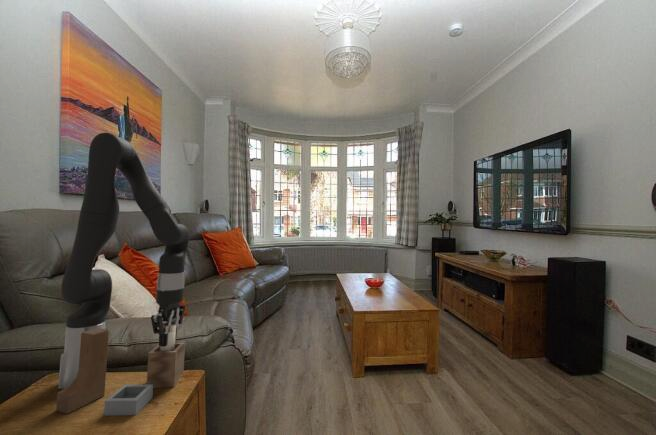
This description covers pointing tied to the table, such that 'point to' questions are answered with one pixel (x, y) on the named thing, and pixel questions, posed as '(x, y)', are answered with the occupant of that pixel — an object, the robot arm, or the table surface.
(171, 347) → the white and tan cylinder
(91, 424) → the table surface
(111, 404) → the low socket
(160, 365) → the socket tower
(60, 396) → the wooden block
